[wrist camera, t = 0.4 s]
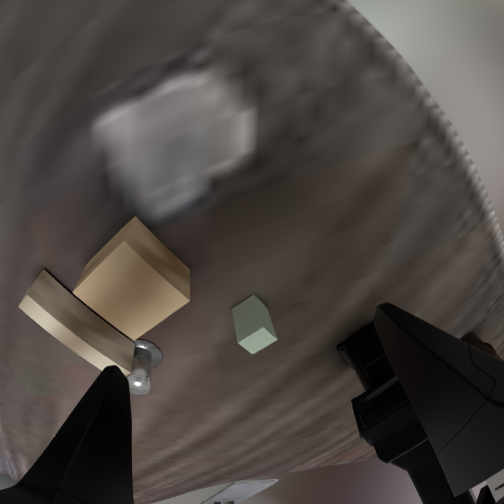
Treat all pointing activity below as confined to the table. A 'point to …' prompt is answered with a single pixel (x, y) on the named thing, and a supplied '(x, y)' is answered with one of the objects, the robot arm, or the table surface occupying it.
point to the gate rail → (76, 325)
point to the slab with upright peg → (239, 491)
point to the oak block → (134, 281)
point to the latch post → (253, 325)
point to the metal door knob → (143, 366)
